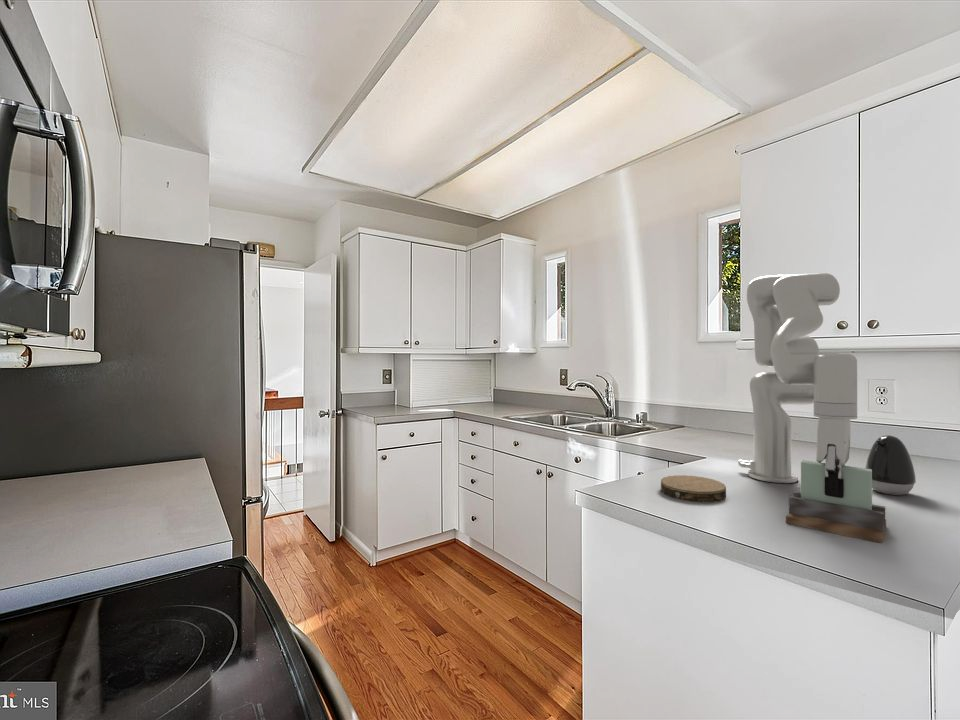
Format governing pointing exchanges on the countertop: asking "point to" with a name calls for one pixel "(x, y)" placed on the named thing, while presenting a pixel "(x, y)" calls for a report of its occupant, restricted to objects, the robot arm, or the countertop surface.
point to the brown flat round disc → (693, 488)
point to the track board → (837, 518)
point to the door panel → (854, 485)
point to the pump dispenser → (891, 466)
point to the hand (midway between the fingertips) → (835, 494)
